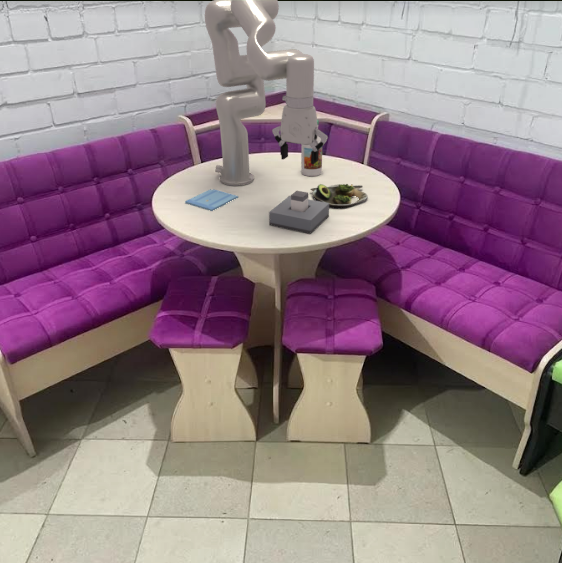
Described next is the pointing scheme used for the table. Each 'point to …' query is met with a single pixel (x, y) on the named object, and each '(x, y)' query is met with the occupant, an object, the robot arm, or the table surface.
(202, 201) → the blue striped cloth
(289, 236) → the table surface
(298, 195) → the block
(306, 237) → the table surface
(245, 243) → the table surface
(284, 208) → the block
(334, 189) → the salad plate
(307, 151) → the milk bottle
